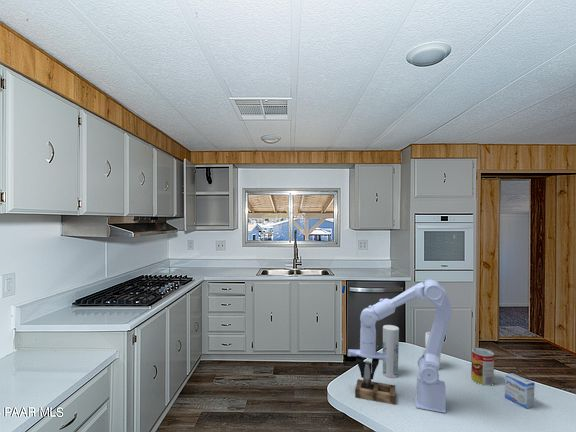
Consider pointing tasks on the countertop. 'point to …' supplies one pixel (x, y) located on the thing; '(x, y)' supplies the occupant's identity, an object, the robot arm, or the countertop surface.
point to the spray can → (390, 350)
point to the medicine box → (519, 390)
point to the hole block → (376, 392)
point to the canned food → (482, 366)
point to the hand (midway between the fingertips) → (367, 377)
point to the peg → (367, 374)
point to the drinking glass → (426, 344)
